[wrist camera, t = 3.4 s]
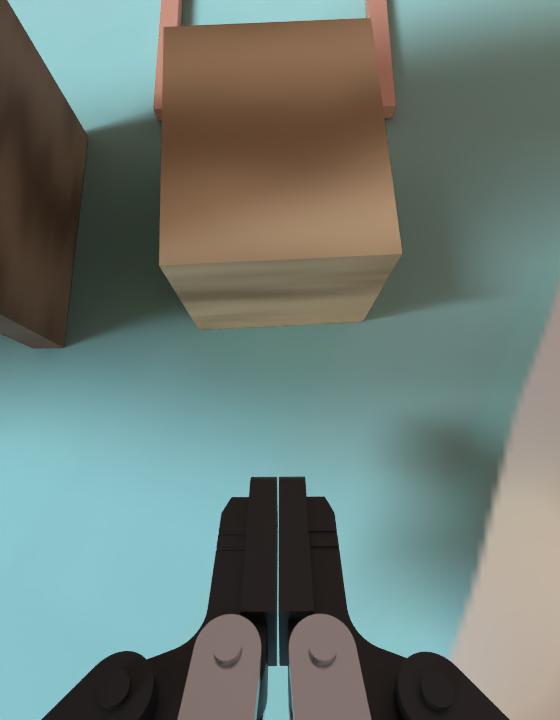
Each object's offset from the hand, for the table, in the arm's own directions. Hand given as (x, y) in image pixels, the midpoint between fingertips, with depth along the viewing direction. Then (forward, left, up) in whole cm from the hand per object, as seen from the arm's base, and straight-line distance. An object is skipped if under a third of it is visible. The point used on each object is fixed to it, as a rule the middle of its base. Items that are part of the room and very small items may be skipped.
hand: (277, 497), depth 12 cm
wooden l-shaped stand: (-9, +9, -7) cm, 15 cm away
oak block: (-6, +11, -7) cm, 14 cm away
